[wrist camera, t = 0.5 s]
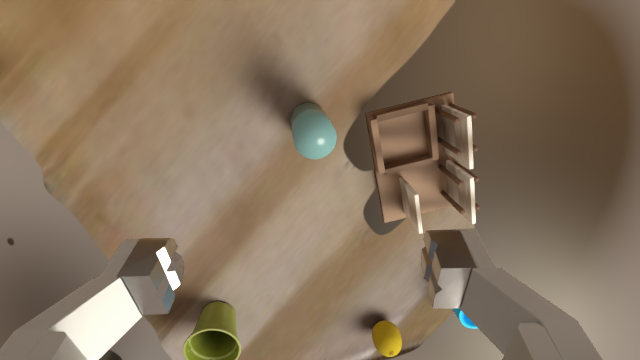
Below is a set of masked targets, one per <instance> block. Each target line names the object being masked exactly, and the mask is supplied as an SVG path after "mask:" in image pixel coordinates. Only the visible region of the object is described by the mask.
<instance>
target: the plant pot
mask: <svg viewBox="0 0 640 360" xmlns="http://www.w3.org/2000/svg"><path fill="white" fill-rule="evenodd" d="M240 352H241V345H240V342H239V340H238V338H237V334H236V319H235V311H234V308H233V307H232V306H231V305H230V304H228V303H222V302H220V301H216V302H212V303H210V304H208V305H207V306H205V307H204V309H203V311H202V313H201V316H200V318H199V320H198V322H197V325H196V327H195V329H194V331H193V333H192V334H191V335H190V336H189V337H188V338H187V340H186V341H185V343H184V346H183V354H184V357H185V359H186V360H237V359H238V357H239V355H240Z"/></svg>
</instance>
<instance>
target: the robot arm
mask: <svg viewBox="0 0 640 360" xmlns="http://www.w3.org/2000/svg"><path fill="white" fill-rule="evenodd" d="M423 240H424V243H425V247H424V248H423V249H422V252H421V268H422V273H423V277H424V279H425V280H426V281H428V282H429V284H428V290H427V291H428V294H429V297H430V301H431V304H432V307H433V308H461V311H462V312H463V313H464V314H465V315H466V316H467V317H468V318H469V319H470V320H471V321H472V322H473V323H474V324H475V325H476V326H477V327H478V328H479V329H480V330H481V331H482V332H483V334H484V335H485V336H486V337H487V338H488V339H489V340H490V341H491V342H492V343H493V344H494V345H495V346H496V347H497V348H498V349H499V350H500V351H501V352H502V353H503V354H504V357H503V359H502V360H602V358H601V357H600V355H599V354H598V352H597V351H596V349H595V347H594V346H593V344H592V343H591V341H590V340H589V338H588V337H587V335H586V333H585V332H584V331H583V329H582V327H581V326H580V324H579V323H578V321H577V320H575V319H574V318H573V317H571V316H570V315H568V314H567V313H565V312H564V311H562V310H561V309H560V308H558V307H557V306H555V305H554V304H552V303H551V302H550V301H548V300H547V299H545V298H544V297H542V296H541V295H539V294H538V293H536V292H535V291H534V290H532V289H531V288H529V287H528V286H526V285H525V284H524V283H522V282H521V281H519V280H518V279H516V278H515V277H513V276H512V275H510V274H509V273H508V272H506V271H505V270H503V269H502V268H496V267H495V265H494V263H493V261H492V259H491V257H490V255H489V253H488V251H487V250H486V248H485V246H484V244H483V242H482V240H481V238H480V236H479V234H478V232H477V231H476V230H475V229H458V230H431V231H426V232H425V234H424V239H423ZM177 247H178V246H177V244H176V242H175V239H171V238H142V239H126V240H124V241H123V242H122V243H121V245H120V246H119V248H118V249H117V251H116V252H115V254H114V255H113V257H112V258H111V260H110V261H109V263H108V264H107V266H106V268H105V269H104V270H103V272H102V274H101V275H100V277H99V278H93V279H92V280H90V281H89V282H87V283H86V284H85V285H83V286H81V287H80V288H78V289H77V290H75V291H74V292H72V293H71V294H69V295H68V296H66V297H65V298H63V299H62V300H61V301H59V302H57V303H56V304H54V305H53V306H51V307H50V308H48V309H47V310H45V311H44V312H42V313H41V314H39V315H38V316H36V317H35V318H33V319H32V320H31V321H29V322H27V323H26V324H25V325H23V326H21V327H20V328H19V329H17V330H15V332H14V333H13V334H12V335H11V336H10V338H9V339H8V340H7V341H6V343H5V344H4V345H3V347H2V348H1V349H0V360H99V359H100V358H101V357H102V356H103V355H104V354H105V353H106V352H107V351H108V350H109V349H110V348H111V347H112V346H113V345H114V344H115V343H116V342H117V341H118V340H119V339H120V338H121V337H122V336H123V335H124V334H125V333H126V332H127V331H128V330H129V329H130V328H131V327H132V326H133V325H134V324H135V323H136V322H137V321H138V320H139V319H140V318H141V317H142V315H154V314H168V313H169V311H170V309H171V306H172V304H173V301H174V299H175V293H174V291H173V290H174V289H176V288H177V287H178V286H179V285H180V284H181V282H182V279H183V275H184V261H183V259H182V256H181V255H179V254H178V253H176V252H175V251H176V249H177Z"/></svg>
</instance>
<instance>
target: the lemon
mask: <svg viewBox="0 0 640 360" xmlns="http://www.w3.org/2000/svg"><path fill="white" fill-rule="evenodd" d="M372 339H373V342H374V345H375V347H376V349H377V350H378V351H379V352H380V353H381V354H382V355H384V356H387V357H392V356H395V355H397V354H398V353H399V351H400V350H401V346H402V340H401V335H400V332H399V330H398V328H397V327H396V326H395V325H394V324H393V323H392V322H390V321H380V322H378V323H377V324H376V325H375V326H374V328H373V331H372Z"/></svg>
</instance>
